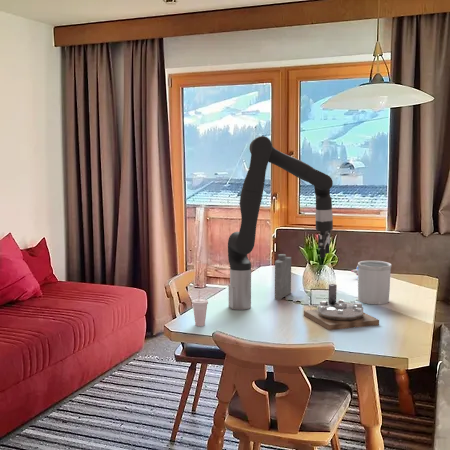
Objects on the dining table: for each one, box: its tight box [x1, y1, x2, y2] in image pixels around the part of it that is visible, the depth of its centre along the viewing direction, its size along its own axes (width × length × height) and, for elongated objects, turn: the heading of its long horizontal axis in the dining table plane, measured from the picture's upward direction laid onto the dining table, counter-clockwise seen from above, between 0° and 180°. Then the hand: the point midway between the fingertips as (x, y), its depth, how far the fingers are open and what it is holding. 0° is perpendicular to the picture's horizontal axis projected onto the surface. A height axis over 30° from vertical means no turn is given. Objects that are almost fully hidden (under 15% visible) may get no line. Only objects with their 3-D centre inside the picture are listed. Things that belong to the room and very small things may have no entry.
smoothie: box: [191, 289, 209, 327], centre depth 227 cm, size 6×6×14 cm
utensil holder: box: [357, 260, 392, 305], centre depth 264 cm, size 15×15×18 cm
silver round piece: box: [317, 283, 364, 320], centre depth 233 cm, size 18×18×11 cm
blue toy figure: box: [350, 265, 358, 276], centre depth 314 cm, size 12×12×8 cm
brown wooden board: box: [303, 308, 380, 331], centre depth 234 cm, size 22×22×2 cm
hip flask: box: [274, 253, 292, 301], centre depth 274 cm, size 16×4×20 cm, turn 154°
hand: (324, 255), depth 257 cm, fingers open, 8 cm apart
